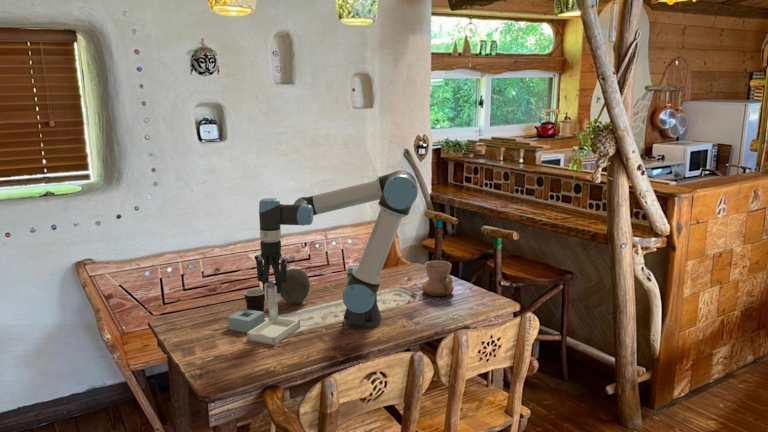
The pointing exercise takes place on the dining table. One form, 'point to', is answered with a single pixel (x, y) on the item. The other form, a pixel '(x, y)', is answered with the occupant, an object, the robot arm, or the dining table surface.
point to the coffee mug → (255, 299)
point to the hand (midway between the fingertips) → (272, 300)
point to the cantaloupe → (295, 286)
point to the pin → (272, 302)
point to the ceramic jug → (438, 278)
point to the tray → (273, 331)
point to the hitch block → (245, 320)
